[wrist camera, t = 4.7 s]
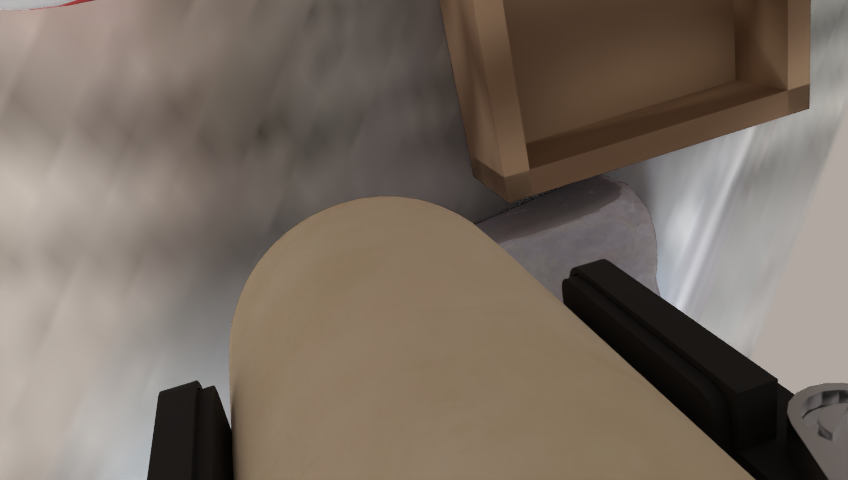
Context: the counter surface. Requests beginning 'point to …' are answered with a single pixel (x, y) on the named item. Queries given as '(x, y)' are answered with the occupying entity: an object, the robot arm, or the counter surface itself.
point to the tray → (616, 80)
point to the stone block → (579, 232)
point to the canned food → (35, 4)
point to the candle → (434, 365)
